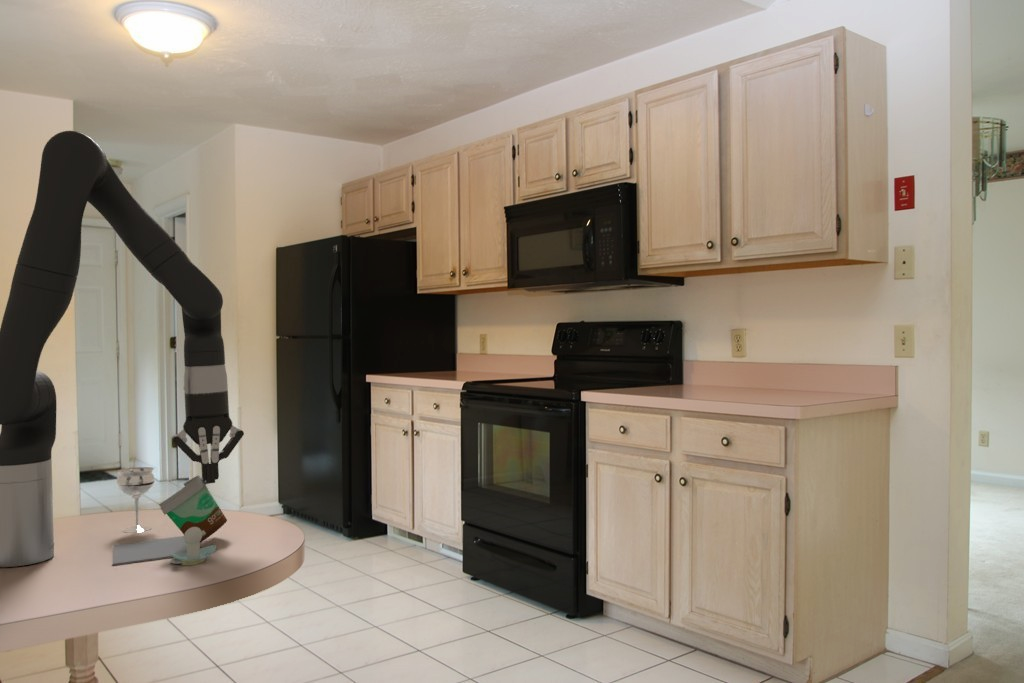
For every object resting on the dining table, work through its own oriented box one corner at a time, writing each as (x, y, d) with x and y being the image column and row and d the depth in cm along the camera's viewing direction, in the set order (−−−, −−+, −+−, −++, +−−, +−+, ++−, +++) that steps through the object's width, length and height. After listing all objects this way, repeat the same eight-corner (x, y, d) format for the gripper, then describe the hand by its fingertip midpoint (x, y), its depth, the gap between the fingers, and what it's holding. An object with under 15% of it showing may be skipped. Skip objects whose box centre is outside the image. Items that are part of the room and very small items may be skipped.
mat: (112, 565, 131) (112, 563, 131) (113, 546, 143) (113, 544, 143) (201, 553, 137) (201, 551, 137) (195, 535, 149) (195, 534, 149)
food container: (219, 532, 138) (185, 487, 137) (191, 550, 139) (157, 505, 137) (241, 507, 151) (210, 466, 149) (215, 524, 151) (184, 482, 150)
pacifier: (164, 563, 132) (175, 570, 127) (162, 527, 132) (173, 532, 128) (207, 555, 137) (219, 561, 132) (206, 519, 137) (218, 524, 132)
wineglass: (115, 529, 156) (113, 469, 156) (151, 523, 160) (150, 465, 160) (121, 535, 151) (120, 474, 151) (159, 529, 155) (157, 470, 155)
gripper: (168, 394, 138) (173, 490, 138) (246, 388, 144) (250, 481, 144) (166, 391, 144) (171, 483, 145) (240, 386, 150) (245, 475, 151)
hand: (210, 482), depth 144 cm, fingers closed
